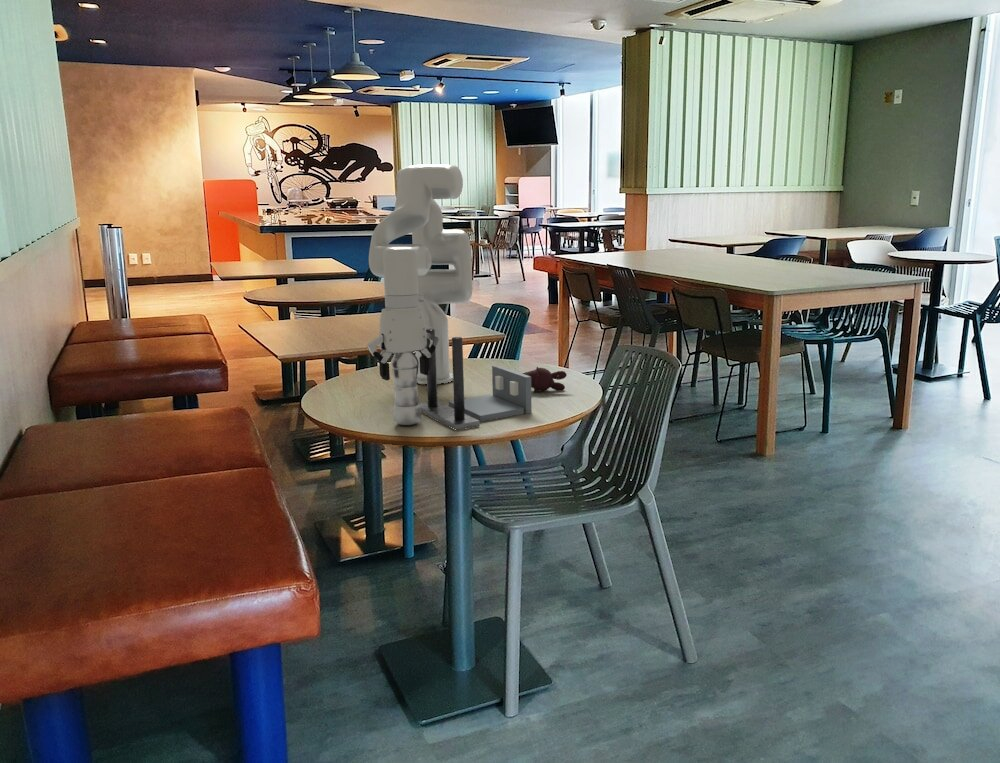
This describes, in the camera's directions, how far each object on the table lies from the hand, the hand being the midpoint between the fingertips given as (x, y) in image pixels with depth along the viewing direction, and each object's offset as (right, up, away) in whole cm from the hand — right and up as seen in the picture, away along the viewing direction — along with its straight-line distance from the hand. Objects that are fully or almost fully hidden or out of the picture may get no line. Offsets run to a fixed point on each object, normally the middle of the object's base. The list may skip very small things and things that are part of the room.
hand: (405, 376), depth 183 cm
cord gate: (+9, -10, +8) cm, 16 cm away
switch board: (+19, -8, +14) cm, 25 cm away
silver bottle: (0, -11, +3) cm, 12 cm away
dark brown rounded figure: (+32, -4, +32) cm, 45 cm away
